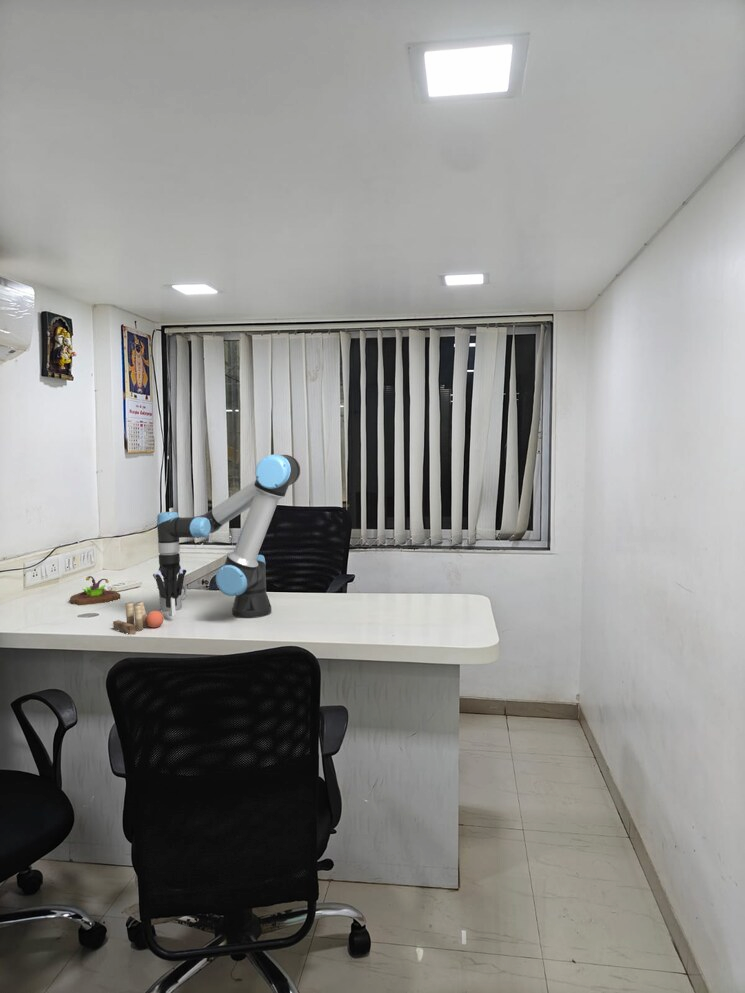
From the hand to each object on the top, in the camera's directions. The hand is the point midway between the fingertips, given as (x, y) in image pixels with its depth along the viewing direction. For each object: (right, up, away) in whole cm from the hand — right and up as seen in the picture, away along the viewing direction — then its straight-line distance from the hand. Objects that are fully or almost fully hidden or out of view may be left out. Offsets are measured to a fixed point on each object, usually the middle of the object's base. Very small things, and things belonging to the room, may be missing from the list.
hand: (171, 615), depth 246 cm
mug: (-5, -1, +21) cm, 22 cm away
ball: (-3, 0, -9) cm, 10 cm away
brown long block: (-13, -3, -14) cm, 19 cm away
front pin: (-7, -2, -8) cm, 11 cm away
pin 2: (-8, -3, -13) cm, 15 cm away
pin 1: (-12, -3, -9) cm, 15 cm away
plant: (-47, -1, +42) cm, 63 cm away
